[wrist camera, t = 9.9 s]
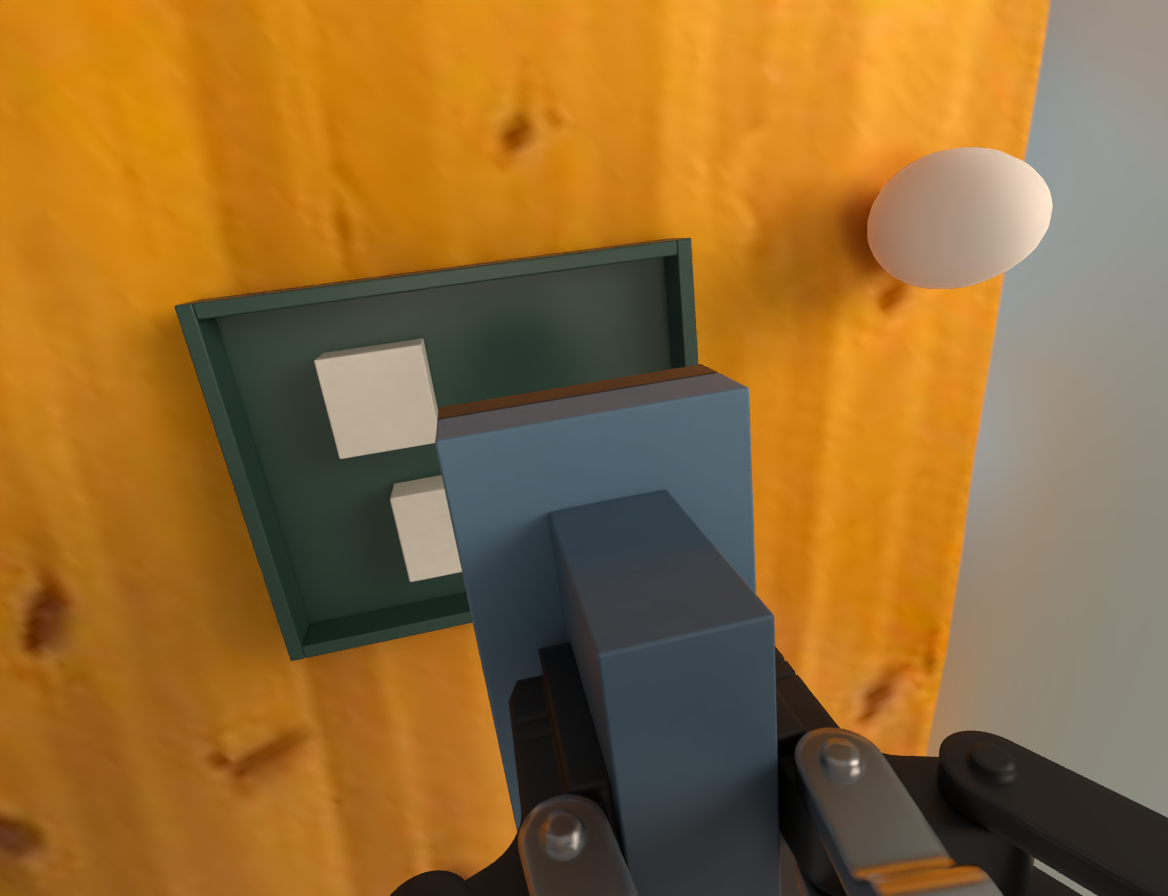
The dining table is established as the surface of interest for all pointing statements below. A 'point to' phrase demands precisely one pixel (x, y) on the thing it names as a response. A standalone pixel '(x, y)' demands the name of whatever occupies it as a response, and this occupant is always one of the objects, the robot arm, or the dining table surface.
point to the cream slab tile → (378, 397)
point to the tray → (459, 375)
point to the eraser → (632, 605)
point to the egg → (958, 218)
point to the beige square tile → (425, 528)
